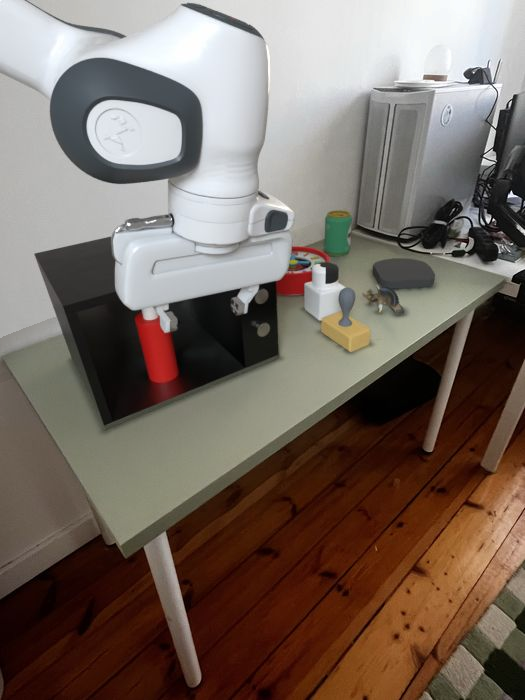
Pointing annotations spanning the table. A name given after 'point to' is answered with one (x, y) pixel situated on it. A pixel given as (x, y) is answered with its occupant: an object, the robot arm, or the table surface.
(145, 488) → the table surface
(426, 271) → the media streaming box
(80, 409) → the table surface
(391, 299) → the animal figurine
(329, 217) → the beverage can
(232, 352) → the toaster oven
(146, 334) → the sauce bottle
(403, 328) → the table surface
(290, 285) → the toy clock
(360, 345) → the rubber stamp
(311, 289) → the medicine bottle
